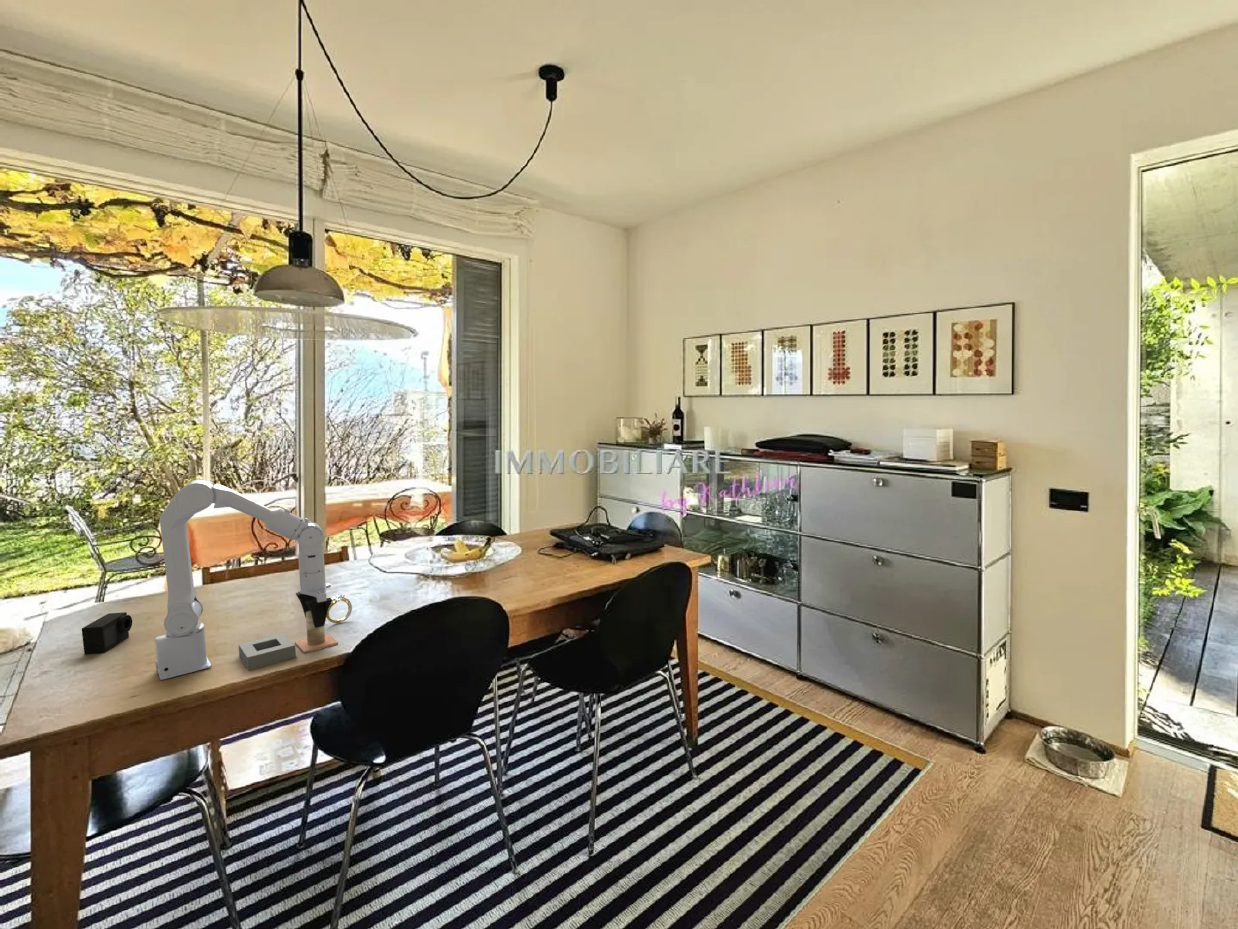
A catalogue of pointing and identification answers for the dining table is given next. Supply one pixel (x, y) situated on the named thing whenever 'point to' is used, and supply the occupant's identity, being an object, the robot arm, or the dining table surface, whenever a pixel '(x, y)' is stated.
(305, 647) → the pad
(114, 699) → the dining table surface
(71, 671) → the dining table surface
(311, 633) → the peg
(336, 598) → the ring
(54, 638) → the dining table surface
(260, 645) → the pocket block
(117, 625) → the digital camera
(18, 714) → the dining table surface
